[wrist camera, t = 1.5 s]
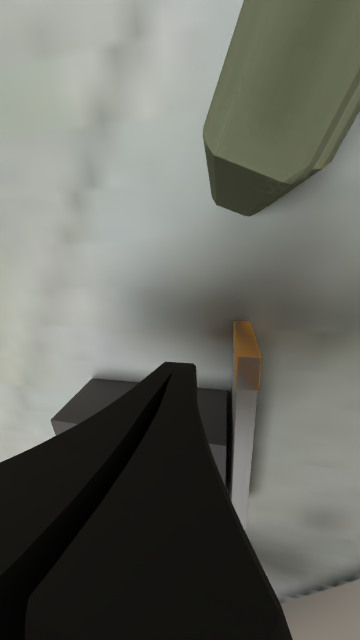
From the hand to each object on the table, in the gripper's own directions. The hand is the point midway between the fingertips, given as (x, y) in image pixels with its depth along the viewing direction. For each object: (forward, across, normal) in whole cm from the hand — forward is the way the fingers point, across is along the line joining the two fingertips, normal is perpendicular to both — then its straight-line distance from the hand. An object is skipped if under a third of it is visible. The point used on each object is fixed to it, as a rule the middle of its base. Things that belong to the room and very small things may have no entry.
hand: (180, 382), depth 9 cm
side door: (+4, -3, +6) cm, 8 cm away
